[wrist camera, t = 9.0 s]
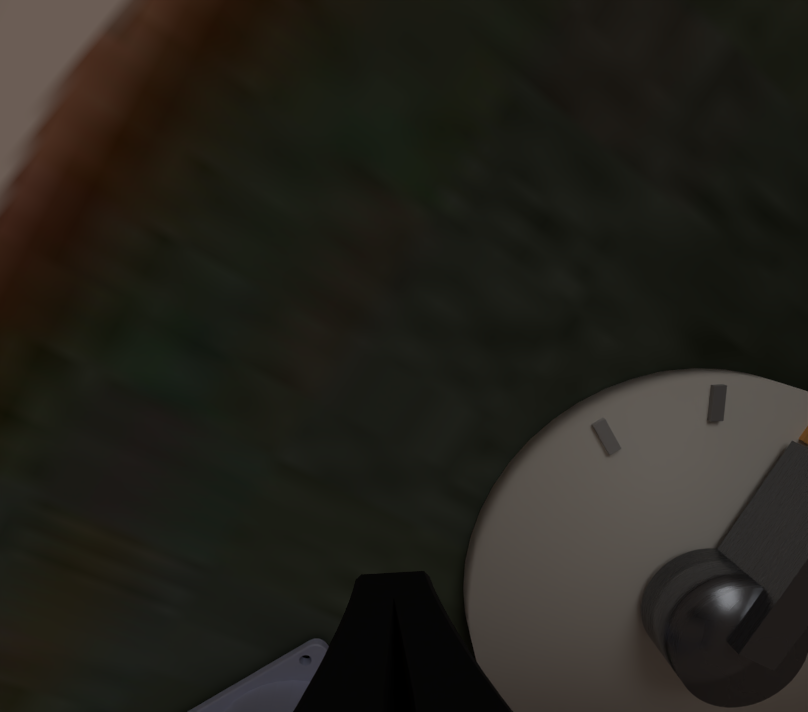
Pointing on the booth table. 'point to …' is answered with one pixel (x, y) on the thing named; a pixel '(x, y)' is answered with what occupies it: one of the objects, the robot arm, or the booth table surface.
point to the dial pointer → (740, 597)
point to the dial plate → (618, 536)
